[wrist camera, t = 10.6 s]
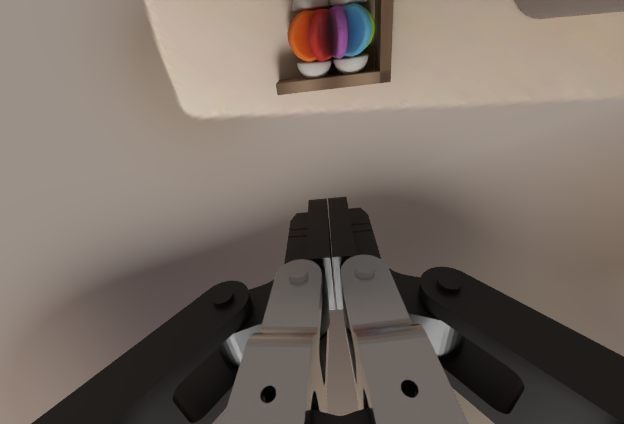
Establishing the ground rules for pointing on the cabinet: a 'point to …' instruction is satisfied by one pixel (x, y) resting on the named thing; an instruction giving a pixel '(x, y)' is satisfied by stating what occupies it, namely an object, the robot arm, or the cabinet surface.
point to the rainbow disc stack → (330, 36)
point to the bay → (364, 76)
